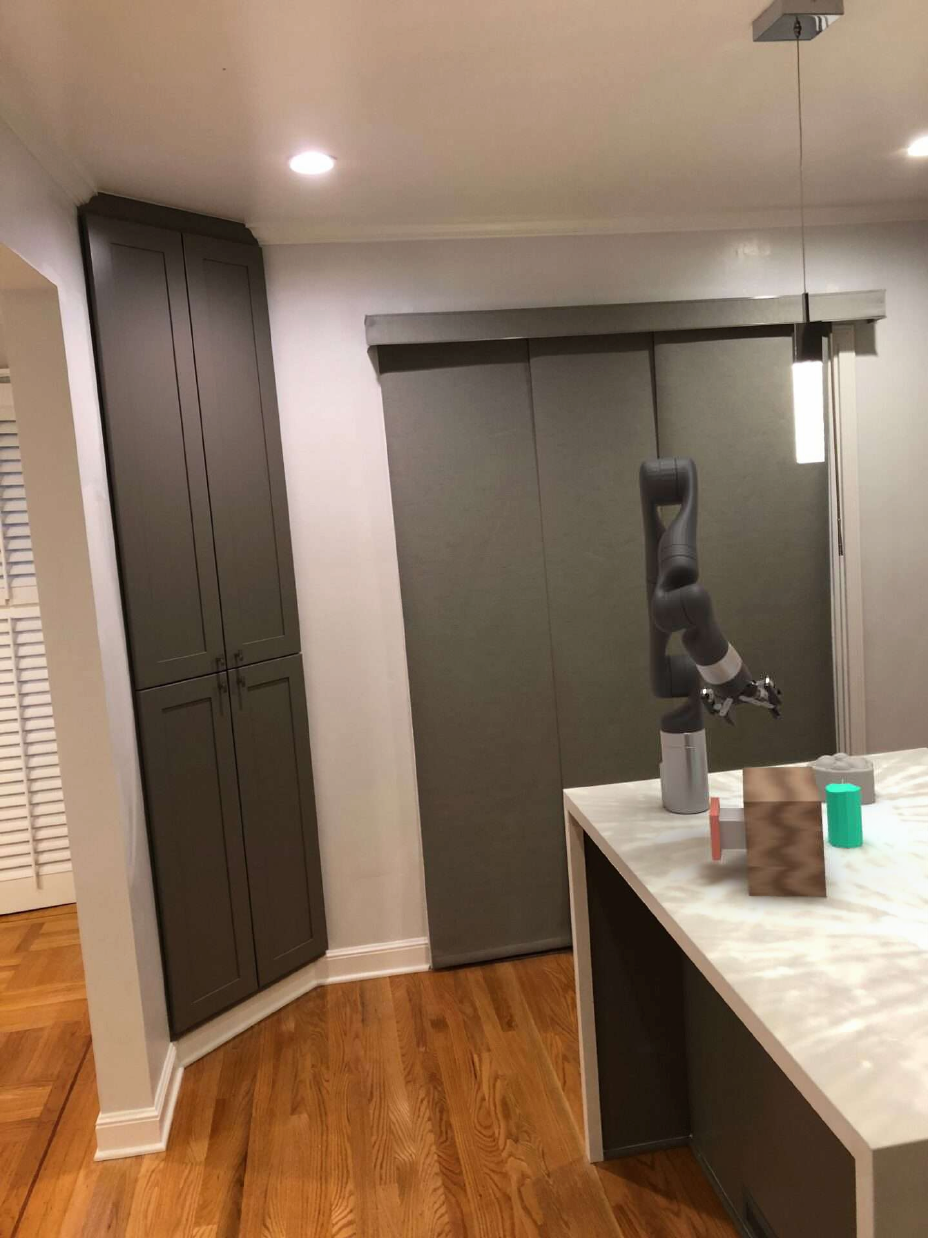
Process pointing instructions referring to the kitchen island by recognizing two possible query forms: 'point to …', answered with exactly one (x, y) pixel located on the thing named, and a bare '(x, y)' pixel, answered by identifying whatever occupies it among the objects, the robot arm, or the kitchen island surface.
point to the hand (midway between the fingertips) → (755, 718)
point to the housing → (783, 832)
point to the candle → (844, 815)
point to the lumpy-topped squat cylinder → (845, 774)
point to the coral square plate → (726, 828)
